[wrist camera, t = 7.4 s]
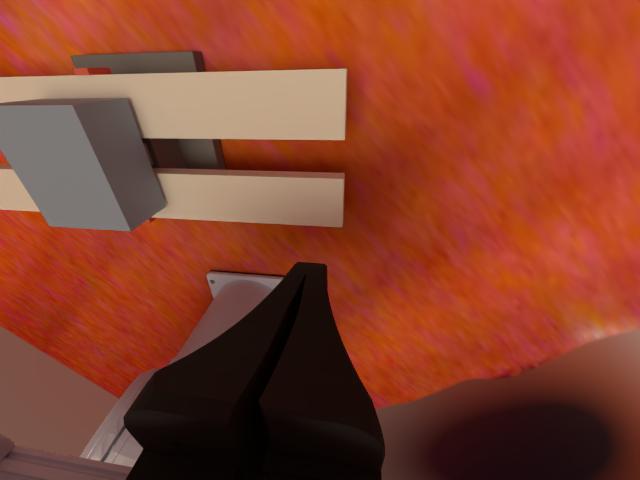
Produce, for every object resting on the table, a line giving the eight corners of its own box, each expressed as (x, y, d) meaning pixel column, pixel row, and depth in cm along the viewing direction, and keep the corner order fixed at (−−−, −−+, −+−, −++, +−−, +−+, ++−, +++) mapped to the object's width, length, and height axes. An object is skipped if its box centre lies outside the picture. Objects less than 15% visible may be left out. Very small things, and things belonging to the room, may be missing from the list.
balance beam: (351, 46, 15) (346, 40, 11) (346, 209, 20) (341, 243, 16) (-32, 60, 18) (-139, 58, 15) (50, 196, 24) (-11, 221, 20)
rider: (137, 96, 14) (72, 104, 11) (173, 201, 17) (130, 231, 14) (55, 97, 15) (-29, 105, 12) (105, 198, 18) (49, 226, 15)
